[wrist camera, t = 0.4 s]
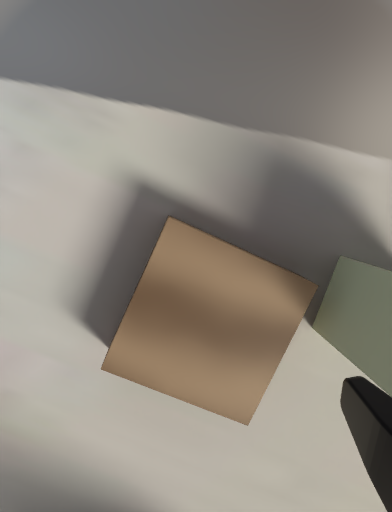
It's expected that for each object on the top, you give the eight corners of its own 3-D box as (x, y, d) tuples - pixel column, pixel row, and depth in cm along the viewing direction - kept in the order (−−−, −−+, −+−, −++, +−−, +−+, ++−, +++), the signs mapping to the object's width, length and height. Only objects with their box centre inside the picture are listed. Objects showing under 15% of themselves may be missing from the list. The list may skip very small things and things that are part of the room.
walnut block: (237, 396, 26) (247, 425, 23) (109, 346, 25) (100, 369, 21) (297, 274, 25) (318, 285, 22) (168, 215, 24) (168, 217, 20)
